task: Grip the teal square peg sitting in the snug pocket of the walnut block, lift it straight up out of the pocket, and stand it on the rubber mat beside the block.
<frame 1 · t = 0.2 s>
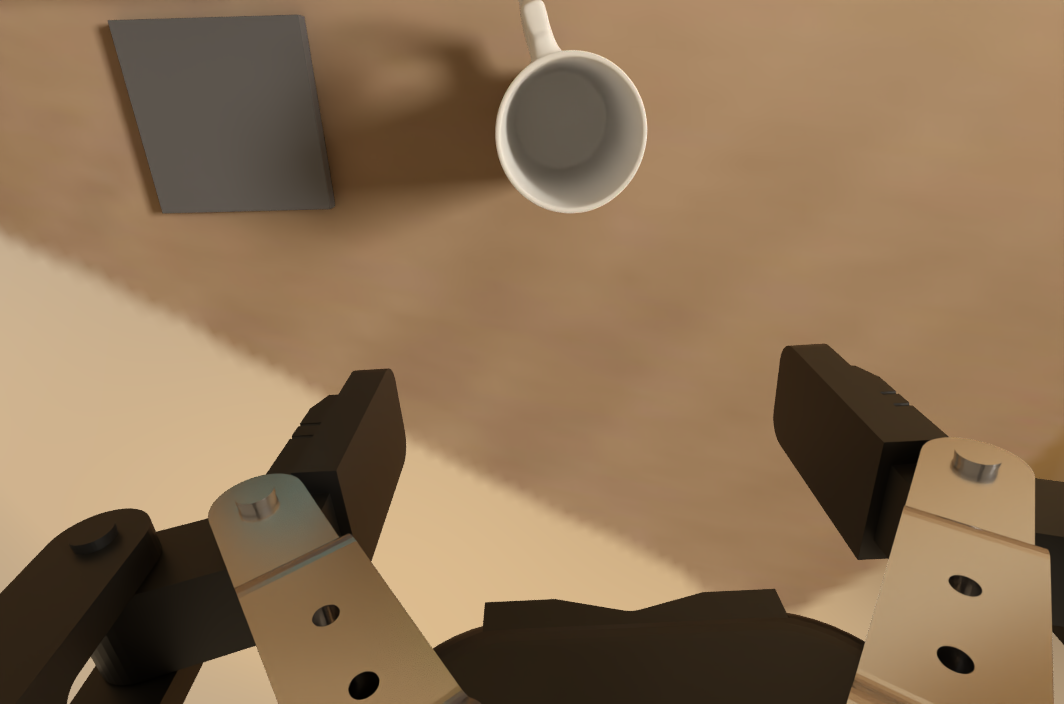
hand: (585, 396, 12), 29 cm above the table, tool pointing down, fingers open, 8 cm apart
mat: (233, 119, 37), on the table
mug: (551, 93, 36), on the table
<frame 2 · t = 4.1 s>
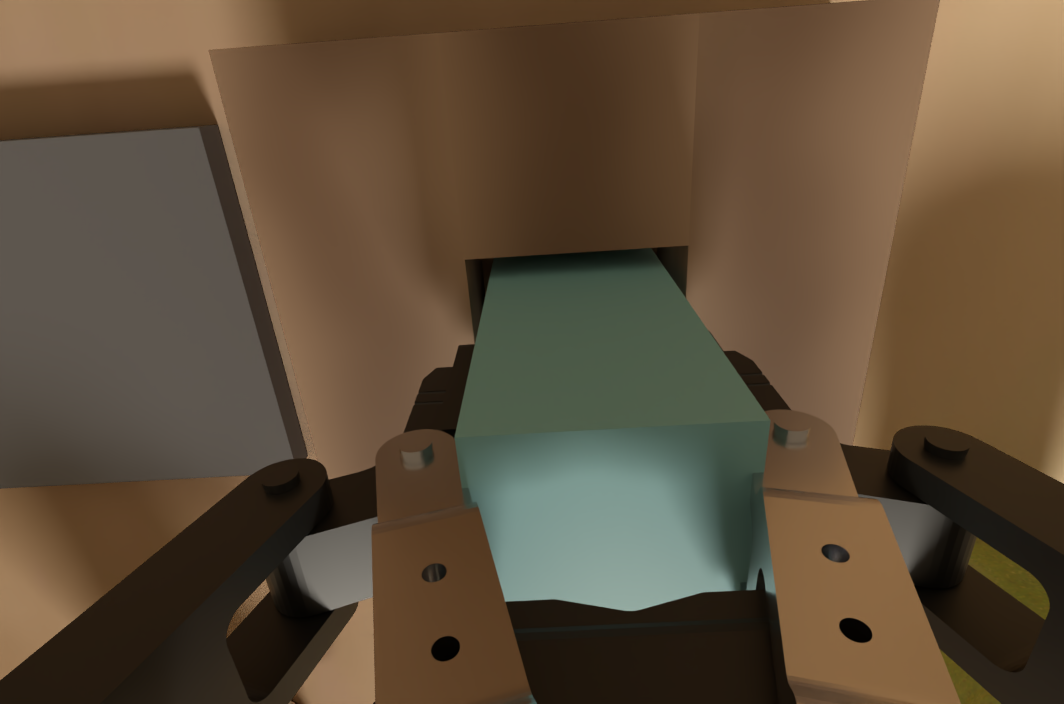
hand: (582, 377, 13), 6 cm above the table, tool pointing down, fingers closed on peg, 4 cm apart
mat: (98, 321, 19), on the table
pocket block: (569, 292, 18), on the table
plant pot: (936, 557, 23), on the table
peg: (571, 303, 17), point 1 cm above the table, touching gripper, pocket block
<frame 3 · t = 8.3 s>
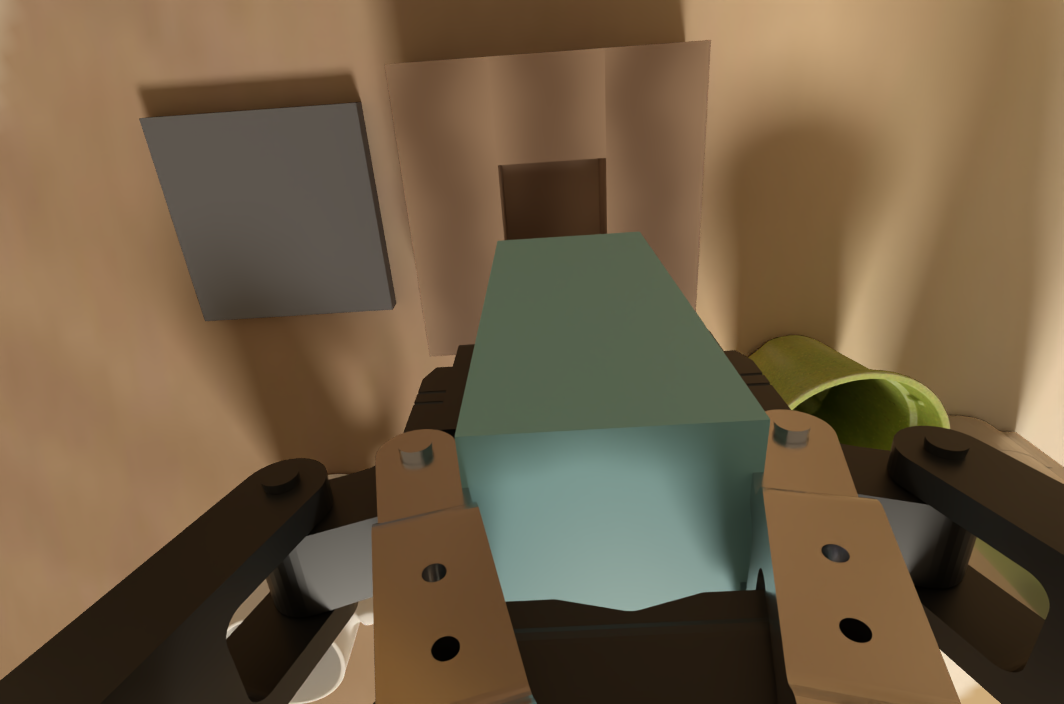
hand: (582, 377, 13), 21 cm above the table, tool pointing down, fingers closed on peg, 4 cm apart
mat: (281, 216, 33), on the table
pocket block: (551, 198, 32), on the table
plant pot: (782, 375, 37), on the table
mug: (367, 500, 41), on the table
peg: (571, 303, 17), point 16 cm above the table, touching gripper
when the fingers open (7 cm above the table, at t = 12.8 s): peg drops 1 cm, resting on mat.
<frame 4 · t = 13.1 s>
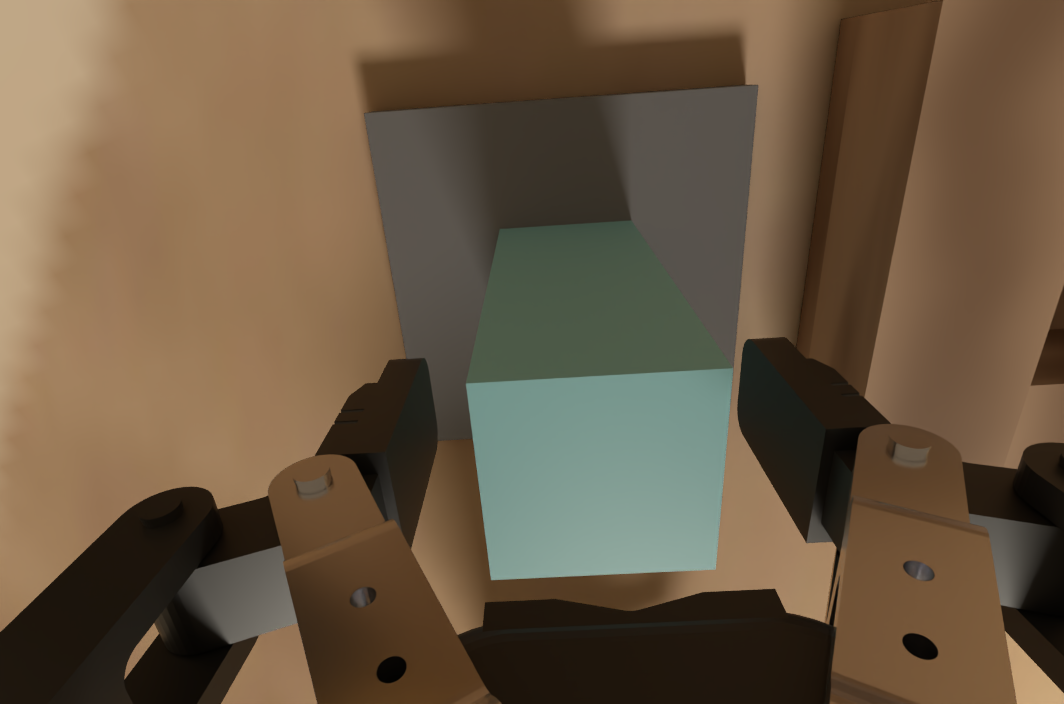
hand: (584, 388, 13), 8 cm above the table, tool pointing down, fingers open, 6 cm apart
mat: (565, 277, 20), on the table
pocket block: (1025, 248, 19), on the table
peg: (567, 287, 19), point 1 cm above the table, touching mat
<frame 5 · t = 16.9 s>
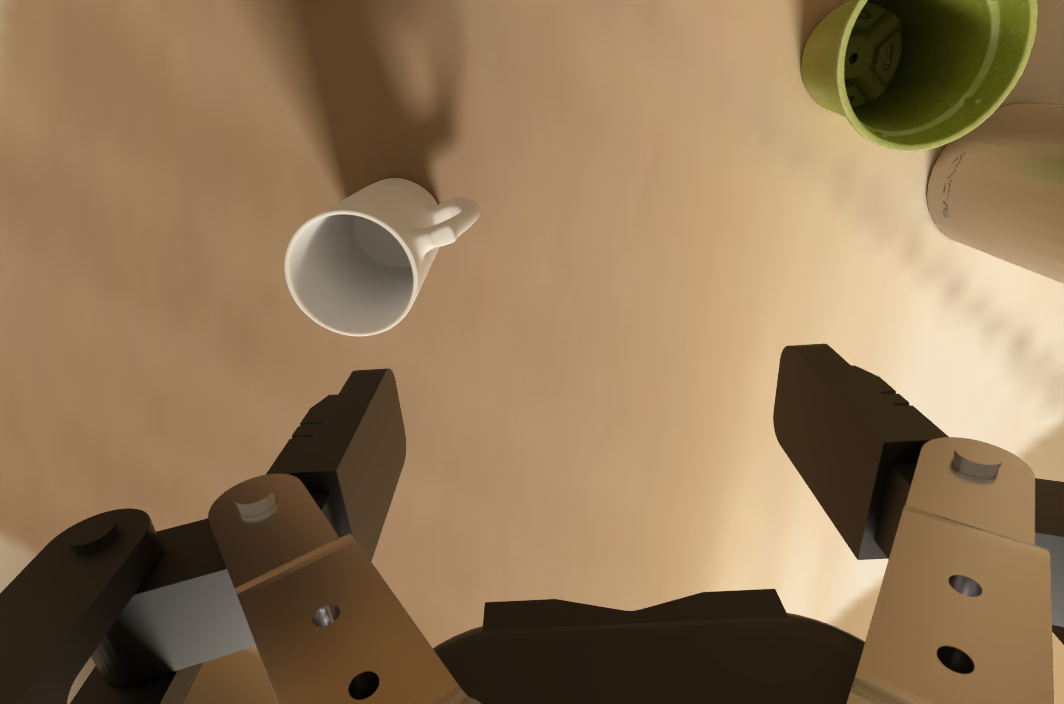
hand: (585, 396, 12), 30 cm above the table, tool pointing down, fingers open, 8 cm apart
plant pot: (847, 56, 37), on the table
mug: (421, 214, 41), on the table
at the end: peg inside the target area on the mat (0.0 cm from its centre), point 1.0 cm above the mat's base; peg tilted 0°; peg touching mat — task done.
